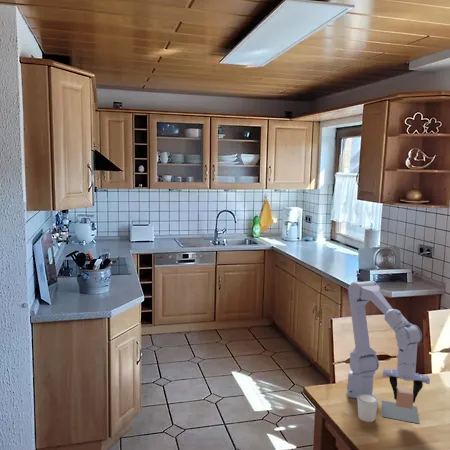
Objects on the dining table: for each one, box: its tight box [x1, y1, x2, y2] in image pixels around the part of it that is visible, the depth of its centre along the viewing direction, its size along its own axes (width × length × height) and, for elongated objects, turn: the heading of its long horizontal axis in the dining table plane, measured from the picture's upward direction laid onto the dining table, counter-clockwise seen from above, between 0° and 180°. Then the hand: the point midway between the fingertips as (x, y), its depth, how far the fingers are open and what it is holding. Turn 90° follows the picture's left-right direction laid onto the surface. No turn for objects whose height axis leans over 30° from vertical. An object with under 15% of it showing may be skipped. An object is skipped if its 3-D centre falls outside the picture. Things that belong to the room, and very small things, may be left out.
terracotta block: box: [395, 385, 414, 409], centre depth 146 cm, size 5×5×5 cm
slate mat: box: [381, 400, 420, 425], centre depth 154 cm, size 12×12×1 cm
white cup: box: [356, 394, 379, 423], centre depth 150 cm, size 7×7×7 cm
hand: (404, 399), depth 146 cm, fingers closed on terracotta block, 5 cm apart
